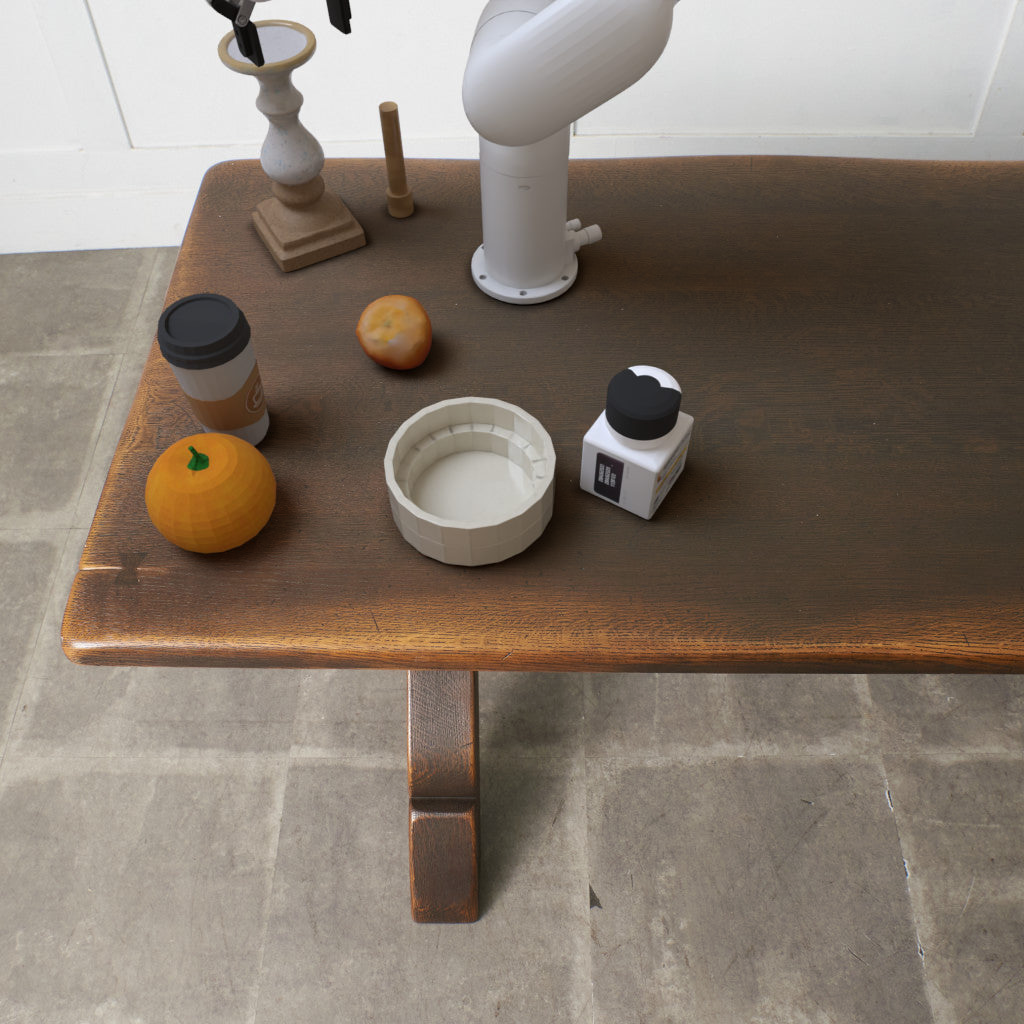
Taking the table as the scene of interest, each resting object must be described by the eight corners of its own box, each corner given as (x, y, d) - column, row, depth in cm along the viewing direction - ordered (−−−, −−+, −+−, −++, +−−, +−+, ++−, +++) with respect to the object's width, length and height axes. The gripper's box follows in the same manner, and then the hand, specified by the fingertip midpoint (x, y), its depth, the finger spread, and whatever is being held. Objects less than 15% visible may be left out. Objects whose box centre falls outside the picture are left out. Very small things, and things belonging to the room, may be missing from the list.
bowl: (506, 420, 97) (505, 376, 92) (583, 527, 89) (587, 485, 83) (367, 477, 93) (358, 433, 87) (435, 595, 84) (429, 554, 79)
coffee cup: (263, 466, 94) (224, 357, 82) (185, 454, 95) (135, 344, 83) (291, 406, 98) (258, 295, 86) (217, 395, 99) (174, 284, 87)
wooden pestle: (407, 200, 120) (395, 96, 109) (417, 213, 118) (406, 109, 107) (384, 207, 119) (369, 103, 108) (394, 221, 117) (380, 116, 106)
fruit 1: (135, 547, 88) (96, 481, 80) (202, 457, 94) (171, 387, 86) (245, 583, 85) (215, 518, 77) (305, 488, 92) (284, 419, 84)
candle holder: (284, 274, 111) (233, 80, 92) (252, 225, 117) (198, 33, 98) (368, 244, 114) (336, 51, 95) (333, 198, 120) (296, 7, 101)
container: (648, 522, 89) (665, 431, 78) (578, 489, 91) (585, 396, 81) (684, 468, 93) (704, 375, 82) (615, 438, 95) (626, 343, 85)
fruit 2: (452, 318, 104) (433, 293, 96) (432, 386, 103) (411, 366, 96) (385, 303, 106) (361, 278, 98) (365, 370, 105) (340, 349, 97)
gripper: (179, -118, 74) (237, 90, 87) (366, -172, 79) (393, 31, 93) (141, -145, 77) (202, 59, 91) (322, -195, 83) (354, 4, 97)
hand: (298, 44), depth 92 cm, fingers open, 9 cm apart
